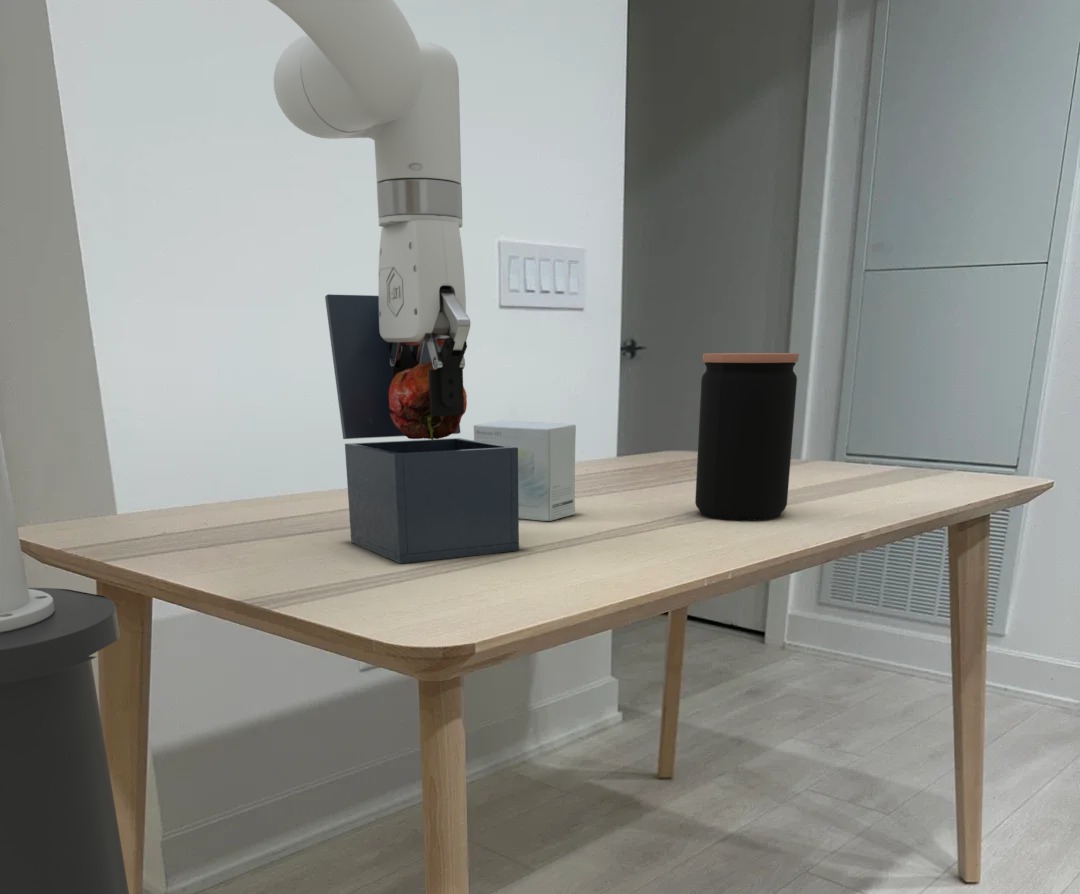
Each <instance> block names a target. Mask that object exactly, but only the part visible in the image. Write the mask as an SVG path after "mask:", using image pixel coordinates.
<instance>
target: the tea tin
mask: <svg viewBox="0 0 1080 894" xmlns="http://www.w3.org/2000/svg"><path fill="white" fill-rule="evenodd" d="M344 449H345V450H344V454H345V466H346V482H347V483H346V484H347V498H348V512H349V515H348V516H349V526H350V528H349V529H350V540H351V541H350V543H352V544H354V545H356V546H359V547H361V548H363V549H365V550H368V551H370V552H373V553H374V554H377V555H379V556H382V557H384V558H386V559H388V560H391V561H393V562H396V563H398V564H400V565H401V564H409V563H420V562H428V561H437V560H446V559H454V558H465V557H475V556H482V555H492V554H499V553H508V552H517V551H520V529H519V528H520V525H519V521H520V518H519V511H518V448H517V447H511V446H505V445H499V444H493V443H486V442H480V441H474V439H468V438H467V439H466V438H461V437H454V438H453V437H452V438H451V437H450V438H440V439H433V443H432V440H431V439H409V440H391V441H390V440H389V441H370V442H369V441H367V442H351V443H350V442H349V443H344Z"/></svg>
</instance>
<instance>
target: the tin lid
mask: <svg viewBox="0 0 1080 894" xmlns="http://www.w3.org/2000/svg"><path fill="white" fill-rule="evenodd" d="M324 300H325V309H326V315H327V323H328V332H329V337H330V347H331V355H332V362H333V363H332V364H333V369H334V379H335V386H336V392H337V402H338V409H339V417H340V425H341V434H342V439H343V440H357V439H359V440H360V439H379V438H398V437H399V438H401V437H406V436H405V435H404V434H403V433H402V432H401V431H400V430H399V429H398V428H396V426H395V424H394V422H393V421H392V418H391V416H390V408H389V406H390V404H389V388H390V385H391V382H392V368H391V366H390V355H391V353H390V351H389V348H388V346H387V344H388V342H387V341H385V340H384V339H383V338H382V337H381V335H380V332H379V295H371V294H370V295H368V294H367V295H365V294H329V293H328V294H326V295H325V296H324ZM442 347H443V346H439V349H440V352H441V349H442ZM410 349H411V351H412V349H413V346H410ZM424 362H431V359H430V355H429V352H428V348H427V344H426V342H424V347H423V352H422V357H421V362H420V363H424ZM431 363H432V362H431ZM460 424H461V423H460ZM460 424H459V426H458V429H457V430H456V431H455V432H454V433H453V434H452V435H459V434H461V425H460Z"/></svg>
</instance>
